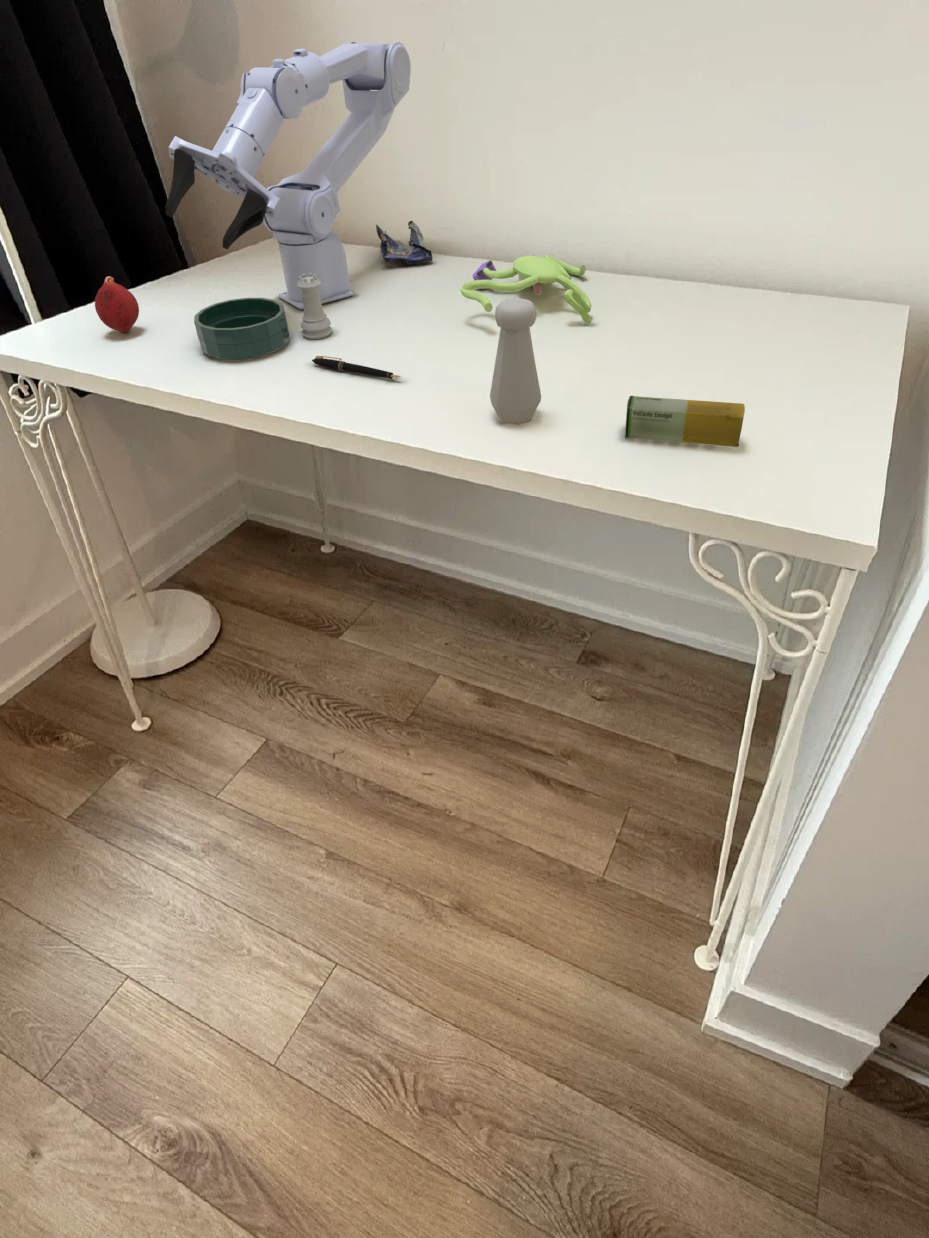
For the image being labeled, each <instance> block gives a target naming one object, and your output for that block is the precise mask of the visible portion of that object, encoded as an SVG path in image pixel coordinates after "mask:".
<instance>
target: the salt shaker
mask: <svg viewBox="0 0 929 1238" xmlns="http://www.w3.org/2000/svg"><path fill="white" fill-rule="evenodd" d="M494 319H495V322H496V325H497V327H499V328H500V330H499V336H498V342H497V347H496V348H497V349H496V353H495V362H494V367H493V373H492V380H491V385H490V392H489V398H490V399H489V400H490V403H491V406H492V408H493V410H494V412H495V413H496V416H497V417H498V419H499V420H500V421H501V422H502V423H503V424H509V425H516V426H519V425H522V424H525V423H528V422H531V421H532V420H533V418H534V415H535V413H536V411H537V409H538V407H539V405H540V404H541V401H542V393H541V388H540V383H539V376H538V370H537V366H536V365H537V364H536V360H535V353H534V347H533V340H532V334H531V333H532V332H531V327H533V326H534V325H535V324H536V320H537V310H536V305H535V303H533V301H531V300H529V299H527V298H520V297H515V298H514V297H513V298H512V297H511V298H507V299H504V300H501V301H500V302H499V303H498V304H497V306H496V307H495V310H494Z"/></svg>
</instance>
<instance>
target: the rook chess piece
mask: <svg viewBox="0 0 929 1238" xmlns="http://www.w3.org/2000/svg"><path fill="white" fill-rule="evenodd" d="M308 275H309V277H306V274H302V276H299V282H298V284H297V286H298V287H299V288H300V289H301V290H302V294H301V297H302V298H303V304H304V309H303V315H302V316H301V317H302V321H301V322H300V328H301V329H302V330H301V332H300V333H301V335H302V336H303V337H304V338H305V339H308V340H320V339H321V340H323V339H324V338H328V337H329V336H330V335H331V334H332V332H333V328H332V326H331V324H332V323H331V320H330V318H329V317H328V316H327V314H326V313H325V311H324V308H323V305H322V304H321V300H320V295H321V293H320V292H319V289H318V288H319V286H320V284H321V282H320V281H319V280H318V279H317V275H316V274H313V276H314V277H313V276H312V273H309V274H308Z"/></svg>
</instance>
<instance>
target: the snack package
mask: <svg viewBox="0 0 929 1238" xmlns="http://www.w3.org/2000/svg"><path fill="white" fill-rule="evenodd" d="M407 226H408V230H410V235H409V236H410V237H409V241H408V245H407V244H406V243H404V242H402V241H400V240H395V239H394V238H393V237H392V236H390V235H389V234H388V233H387V231H386V230H383V229H382V228H381V227H380V226H379V225H378V224H375V229H376V234H377V236H378V238H379V240H380V241H381V242H380V248H379V249H380V252H381V256H382V258H383V261H384V263H390V262H392V261H393V262H394V261H401V260H402V261H404V262H406V263H407V266H413V265H418V264H423V263H426V262H432V261H433V254H432V251H431V250H429V249H427V248H426V247H425V244H424V241H425V239H424V235H423V233H422V232H421V230H420V227H419V226H418V225H417V224H416V223H415V222H414V221H413V220H410V221H408V223H407ZM388 267H389V266H388V265H387V266H386V268H388Z"/></svg>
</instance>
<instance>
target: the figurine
mask: <svg viewBox="0 0 929 1238" xmlns="http://www.w3.org/2000/svg"><path fill="white" fill-rule="evenodd" d="M586 271H587V270H586V265H585V264H582V265H581V266H580V268H579V267H576V266H573V265H571V264H568V263H566V262H563V261H561V260H559V259H558V258H557V257H553V256H552V255H549V254H546V255H544V257H542V256H537V255H523V256H519V257H517V258H515V259H514V260H513V262H512V268H510V269H505V270H497V269H496V267H495V265H494V264H493V261H492V259H490V260H488V261H485V262H483V263H481V264H480V265H479V267H478V268H477V269H476V270H475V271H474V272H473V274H472V279H473V280H469V281H467V282H465V283H464V284H463V285H462V286H461V287H460V293H461V296H463V297H464V298H465V299H469V300H472V301H476V302H478V303H480V305H481V306H482V307H483V309H484V311H485V312H488V313H489V312H492V310H493V304H492V302H491V300H490V299H489V297H487V296H486V295H485V294H483V293H481V292H479V291H476V290H482V289H484V290H485V289H489V290H495V291H498V292H501V293H504V292H505V293H513V292H514V293H515V292H519V291H522V290H524V289H527V288H529V289H532V288H533V292H534V294H535V295H541V294H542V288H541V284H544V285H545V284H554V283H558V284H560V285H562V286H564V287H565V288H567V289H566V290H565V291H564V293H563V297H562V298H563V299H564V301H565V302H566V304H567V305H569V307H571V308H572V309H573V310H574V311H576V313H577V314H578V315H579V316H580V317H581V319H582V321H583V322H584V323H585V324H587V325H589V324H591V323H592V319H591V317H590V315H589V313H590V312H591V309H592V306H593V305H592V303H591V300H590V298H589V296H588V295H587V294H586V293H585V291H584V290H582V288H581V287H580V286H579V285H578V284H576V282H574V281H573V280H572V276H576V277H581V276H582V277H583V276H584V275H585V273H586ZM570 275H572V276H570ZM515 276H518V277H517V278H518V280H519V281H516V282H515V281H514V282H511V283H506V282H499V281H496V280H493V279H498V280H503V279H510V278H514V277H515Z"/></svg>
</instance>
